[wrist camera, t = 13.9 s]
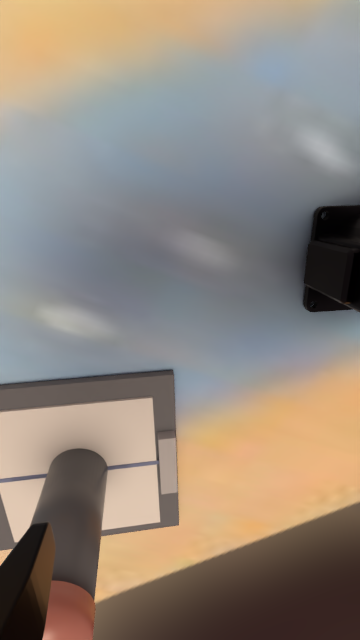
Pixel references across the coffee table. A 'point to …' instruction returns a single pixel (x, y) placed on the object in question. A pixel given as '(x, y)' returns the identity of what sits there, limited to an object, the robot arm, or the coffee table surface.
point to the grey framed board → (91, 447)
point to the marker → (73, 540)
